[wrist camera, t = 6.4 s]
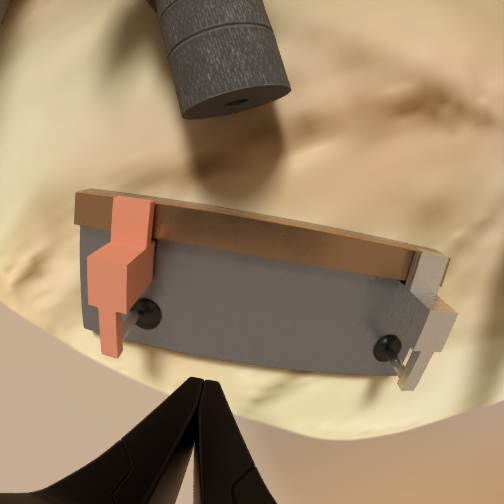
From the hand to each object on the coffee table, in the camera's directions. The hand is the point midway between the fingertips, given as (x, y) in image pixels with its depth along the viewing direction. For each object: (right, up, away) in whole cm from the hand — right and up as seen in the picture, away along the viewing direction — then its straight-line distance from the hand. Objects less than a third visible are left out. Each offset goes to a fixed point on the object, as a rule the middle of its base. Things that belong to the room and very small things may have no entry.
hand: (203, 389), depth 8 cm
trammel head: (-6, +3, +10) cm, 12 cm away
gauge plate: (+2, +1, +12) cm, 12 cm away
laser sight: (-2, +23, +6) cm, 24 cm away
